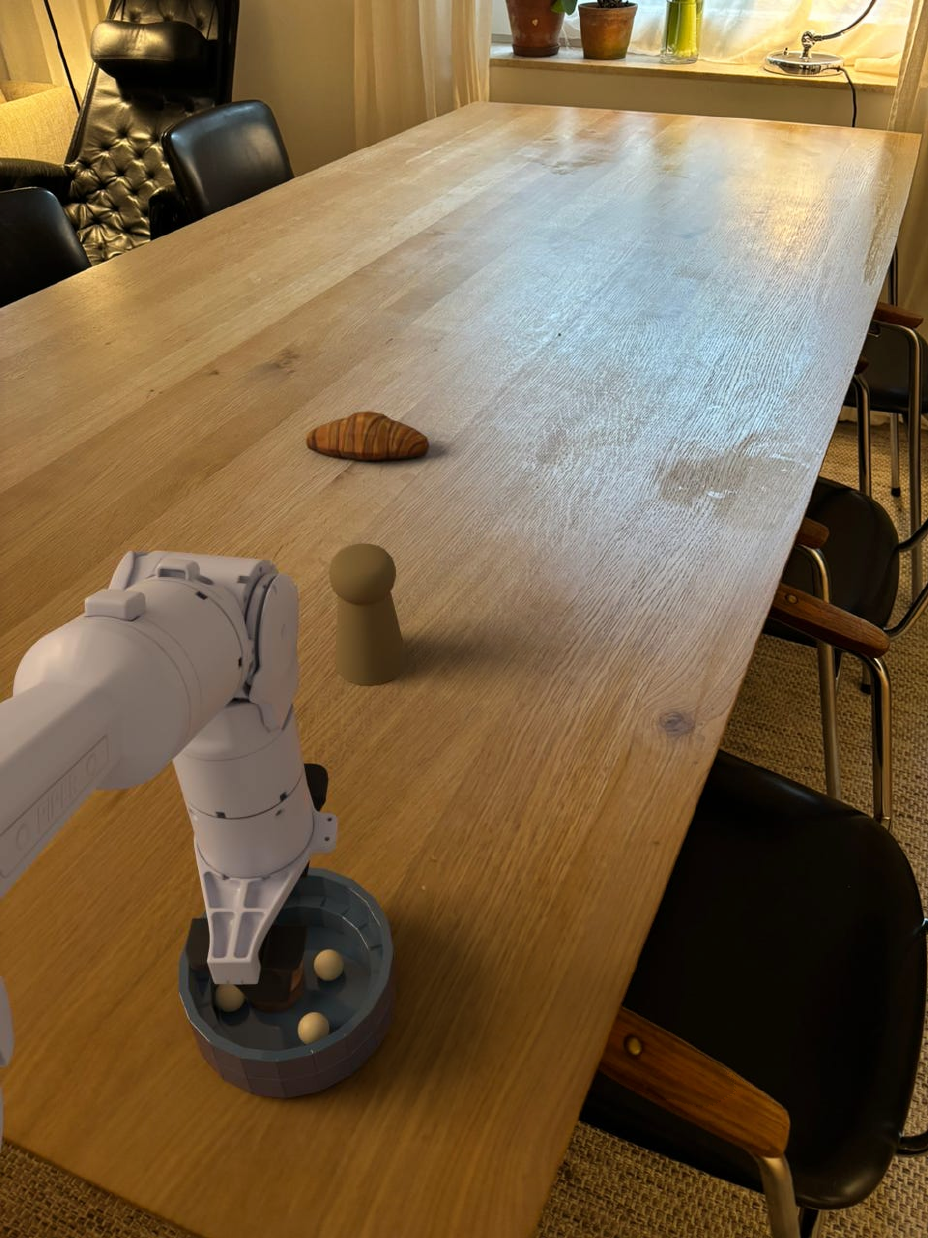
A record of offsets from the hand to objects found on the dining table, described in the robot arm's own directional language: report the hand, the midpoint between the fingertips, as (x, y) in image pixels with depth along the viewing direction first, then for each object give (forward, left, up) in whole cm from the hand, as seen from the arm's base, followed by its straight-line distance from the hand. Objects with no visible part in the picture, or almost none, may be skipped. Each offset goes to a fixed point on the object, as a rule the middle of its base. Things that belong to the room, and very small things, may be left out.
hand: (280, 931), depth 55 cm
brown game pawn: (+17, +25, -8) cm, 31 cm away
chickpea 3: (+2, 0, -6) cm, 7 cm away
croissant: (+31, +55, -8) cm, 64 cm away
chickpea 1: (-3, +1, -6) cm, 7 cm away
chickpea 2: (0, -3, -6) cm, 7 cm away
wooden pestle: (-1, +1, -7) cm, 7 cm away
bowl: (0, 0, -8) cm, 8 cm away
